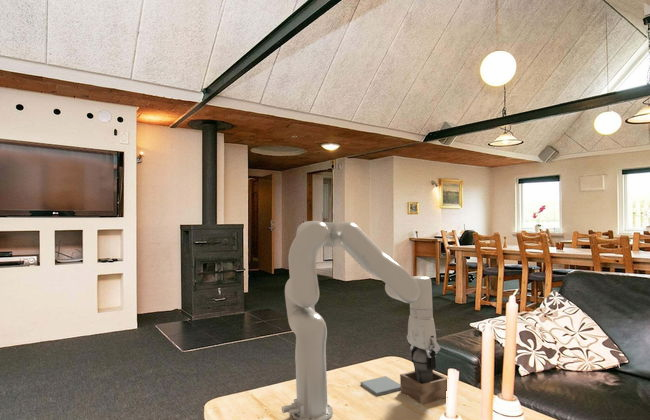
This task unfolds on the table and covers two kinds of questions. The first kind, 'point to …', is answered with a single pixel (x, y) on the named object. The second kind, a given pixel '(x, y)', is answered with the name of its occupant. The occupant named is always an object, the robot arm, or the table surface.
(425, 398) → the box
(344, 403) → the table surface
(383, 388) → the rubber mat
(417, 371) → the beverage cup
